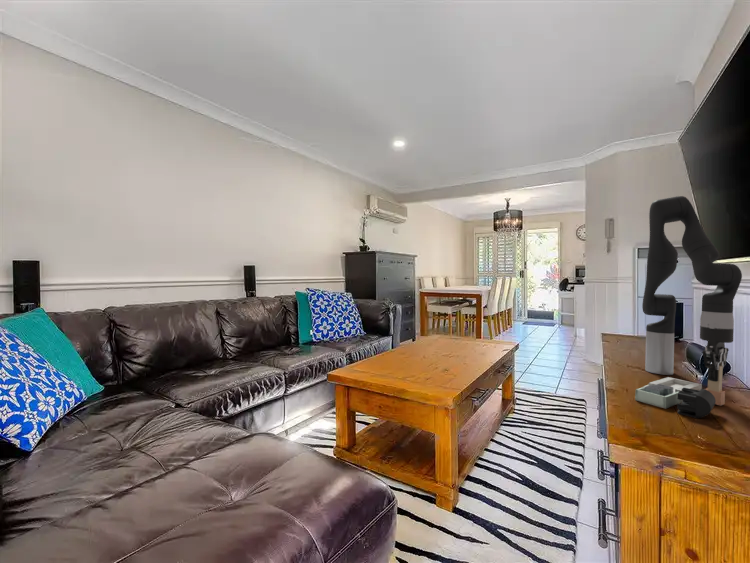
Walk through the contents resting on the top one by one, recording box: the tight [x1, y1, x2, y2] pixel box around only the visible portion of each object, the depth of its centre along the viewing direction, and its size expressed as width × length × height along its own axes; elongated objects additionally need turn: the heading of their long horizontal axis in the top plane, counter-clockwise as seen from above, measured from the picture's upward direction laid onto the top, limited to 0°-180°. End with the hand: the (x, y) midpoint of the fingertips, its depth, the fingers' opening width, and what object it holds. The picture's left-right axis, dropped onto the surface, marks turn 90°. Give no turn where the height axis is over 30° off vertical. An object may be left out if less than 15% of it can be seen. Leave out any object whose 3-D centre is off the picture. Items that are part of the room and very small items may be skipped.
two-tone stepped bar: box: [704, 365, 726, 407], centre depth 108 cm, size 3×4×12 cm
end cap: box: [676, 388, 716, 419], centre depth 100 cm, size 10×7×7 cm
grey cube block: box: [653, 384, 674, 396], centre depth 111 cm, size 4×4×4 cm
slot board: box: [643, 376, 703, 404], centre depth 116 cm, size 15×12×4 cm
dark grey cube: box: [645, 384, 665, 396], centre depth 109 cm, size 4×4×4 cm
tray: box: [634, 385, 681, 409], centre depth 110 cm, size 10×8×4 cm
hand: (714, 379), depth 108 cm, fingers closed on two-tone stepped bar, 2 cm apart
